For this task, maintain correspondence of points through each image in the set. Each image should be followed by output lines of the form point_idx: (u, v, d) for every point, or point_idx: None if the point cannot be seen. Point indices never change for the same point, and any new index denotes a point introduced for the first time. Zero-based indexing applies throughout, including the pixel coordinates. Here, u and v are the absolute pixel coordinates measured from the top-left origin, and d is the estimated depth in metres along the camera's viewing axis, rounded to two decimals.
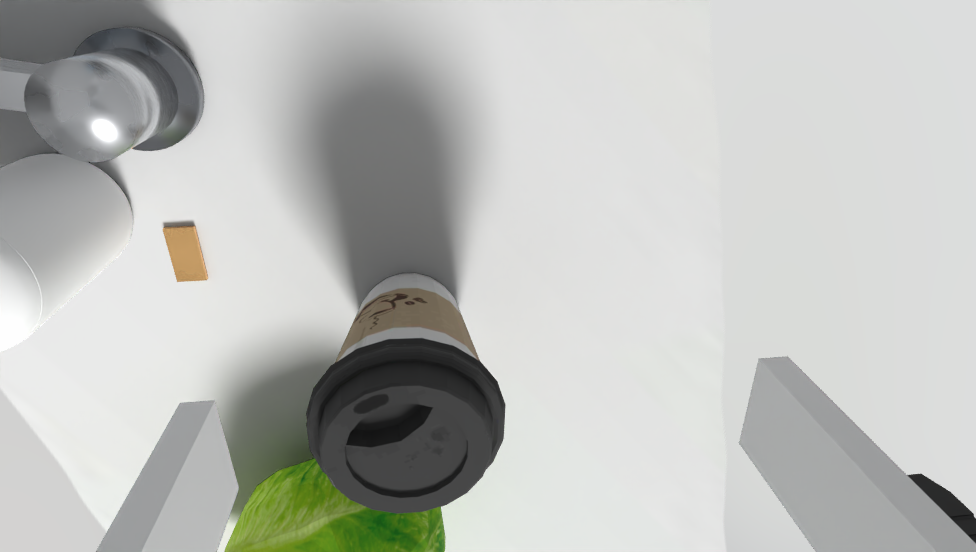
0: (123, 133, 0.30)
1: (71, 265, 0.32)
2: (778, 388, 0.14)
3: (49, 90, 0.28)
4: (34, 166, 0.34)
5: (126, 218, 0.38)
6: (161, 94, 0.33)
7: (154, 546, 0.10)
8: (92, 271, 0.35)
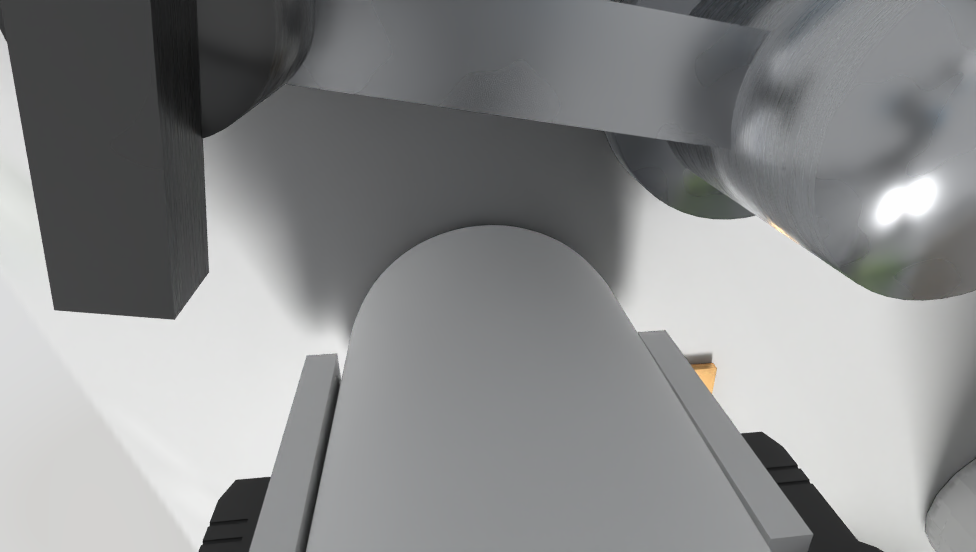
0: None
1: None
2: None
3: (940, 65, 0.08)
4: (535, 271, 0.13)
5: None
6: None
7: (317, 466, 0.12)
8: None
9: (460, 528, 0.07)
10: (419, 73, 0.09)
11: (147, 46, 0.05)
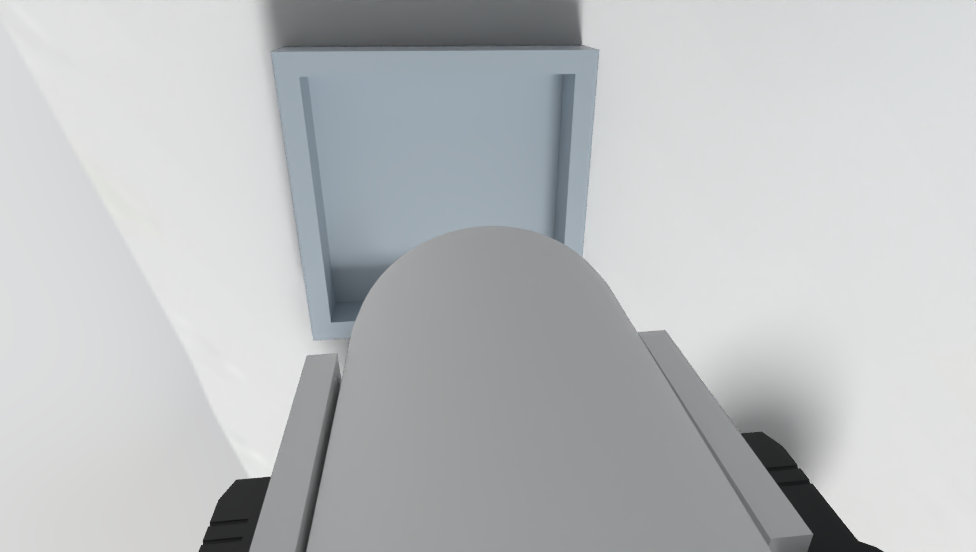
0: None
1: None
2: None
3: None
4: (536, 272, 0.13)
5: None
6: None
7: (317, 466, 0.12)
8: None
9: (461, 532, 0.07)
10: None
11: None
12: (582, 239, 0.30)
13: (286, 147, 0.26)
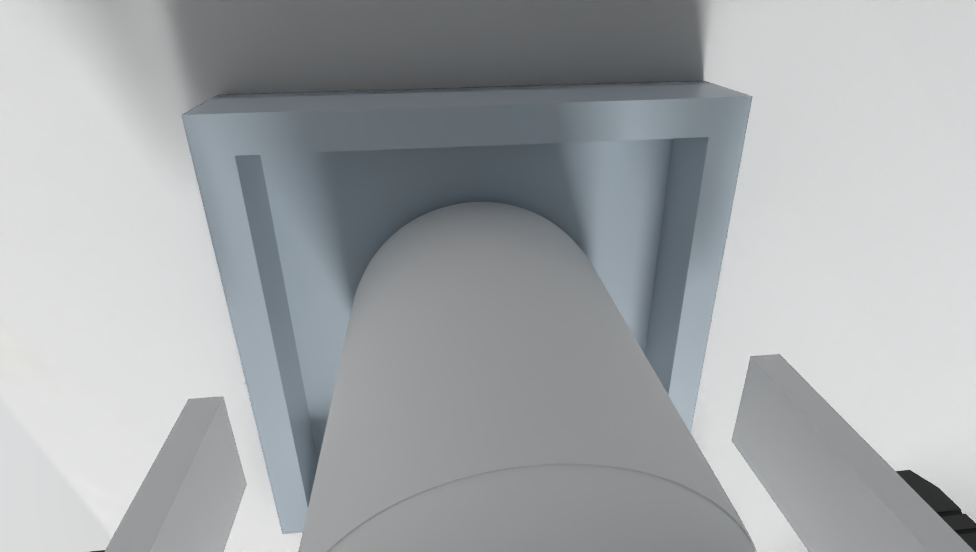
0: None
1: None
2: (769, 385, 0.14)
3: None
4: (517, 240, 0.15)
5: None
6: None
7: (165, 539, 0.10)
8: None
9: (442, 431, 0.09)
10: None
11: None
12: (697, 383, 0.19)
13: (220, 268, 0.15)
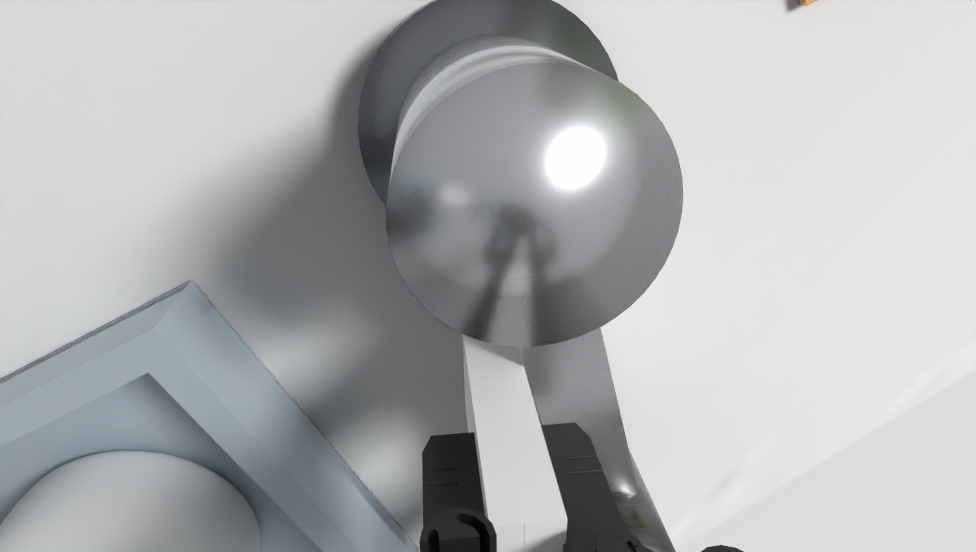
0: (556, 95, 0.09)
1: None
2: (488, 351, 0.15)
3: (506, 299, 0.10)
4: None
5: (47, 485, 0.18)
6: (446, 59, 0.12)
7: None
8: None
9: None
10: (609, 446, 0.16)
11: None
12: (0, 409, 0.16)
13: None
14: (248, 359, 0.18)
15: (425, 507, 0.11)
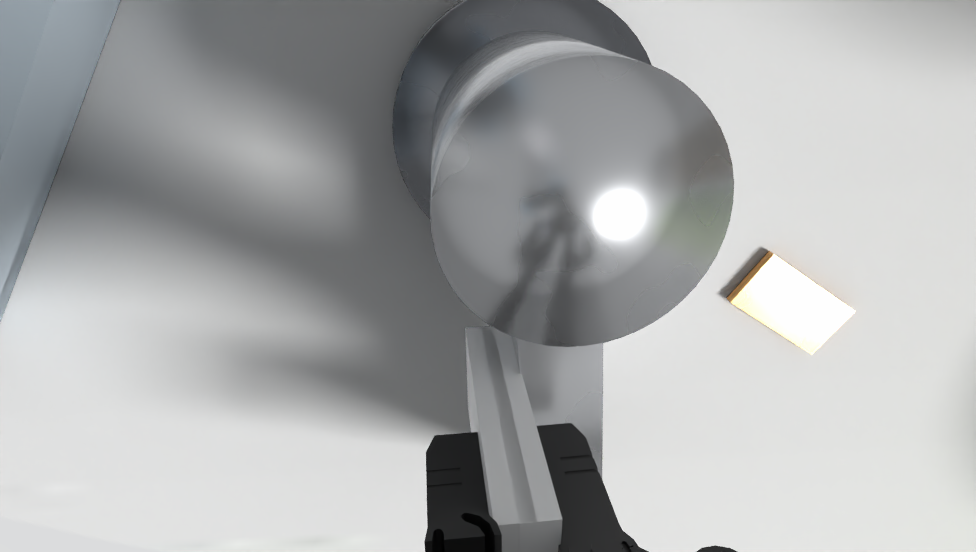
0: (633, 94, 0.09)
1: None
2: (484, 352, 0.15)
3: (533, 292, 0.10)
4: None
5: None
6: (508, 44, 0.12)
7: None
8: None
9: None
10: None
11: None
12: None
13: None
14: (109, 5, 0.14)
15: (429, 507, 0.11)
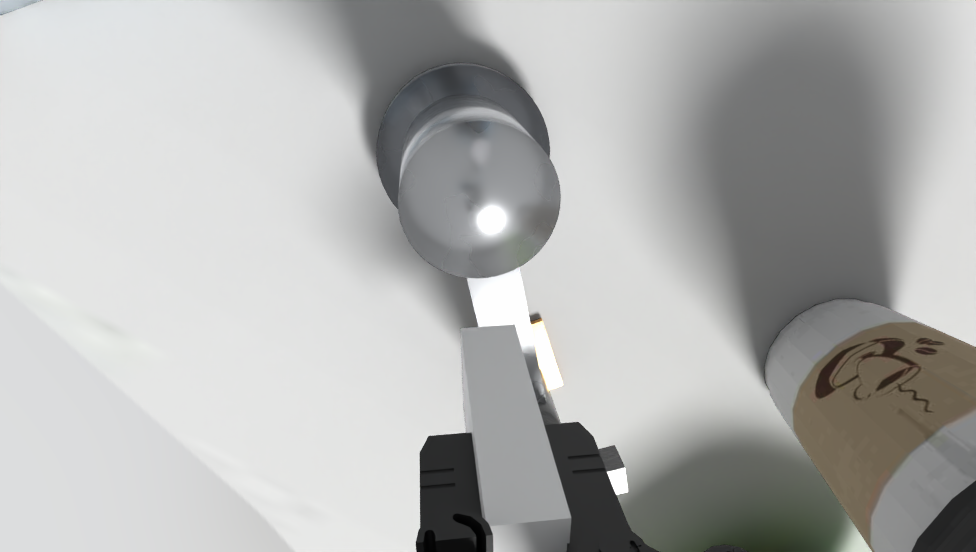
0: (492, 138, 0.17)
1: None
2: (491, 351, 0.15)
3: (461, 248, 0.18)
4: None
5: None
6: (436, 110, 0.20)
7: None
8: None
9: None
10: (527, 366, 0.24)
11: None
12: None
13: None
14: None
15: (422, 507, 0.11)
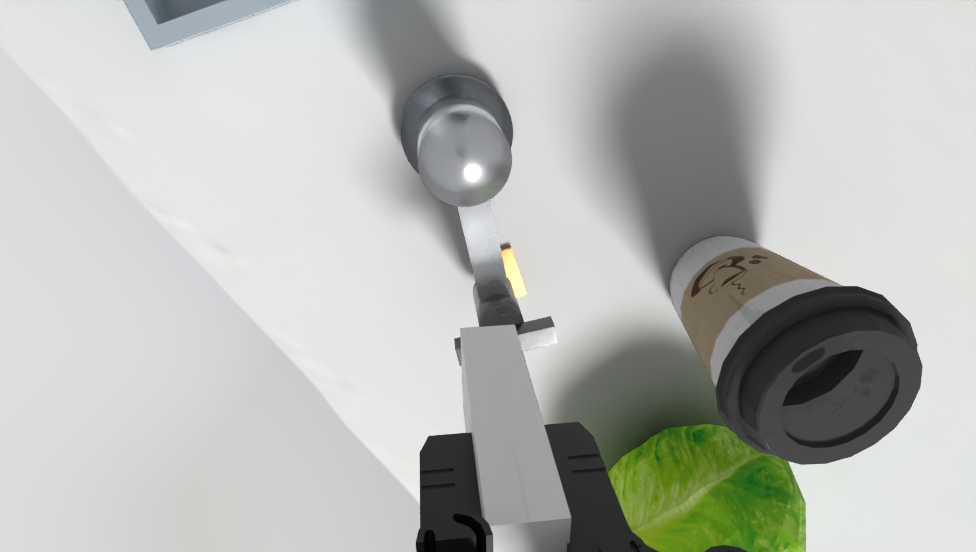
0: (471, 123, 0.30)
1: None
2: (491, 351, 0.15)
3: (454, 188, 0.32)
4: None
5: None
6: (439, 106, 0.33)
7: None
8: None
9: None
10: (497, 270, 0.37)
11: None
12: None
13: None
14: None
15: (422, 507, 0.11)
